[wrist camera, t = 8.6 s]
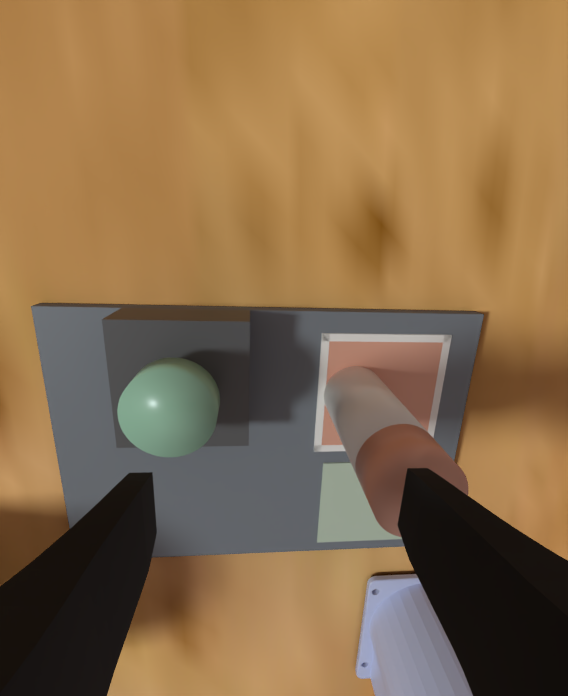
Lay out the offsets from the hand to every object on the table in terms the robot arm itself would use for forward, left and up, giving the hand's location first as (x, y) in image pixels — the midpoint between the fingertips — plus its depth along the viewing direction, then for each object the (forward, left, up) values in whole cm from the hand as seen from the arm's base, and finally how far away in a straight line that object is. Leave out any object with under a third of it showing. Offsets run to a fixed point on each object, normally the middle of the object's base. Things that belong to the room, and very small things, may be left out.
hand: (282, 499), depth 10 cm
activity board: (-4, 0, -10) cm, 11 cm away
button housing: (+1, +4, -9) cm, 10 cm away
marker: (-1, -5, -9) cm, 10 cm away
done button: (+1, +4, -5) cm, 7 cm away
